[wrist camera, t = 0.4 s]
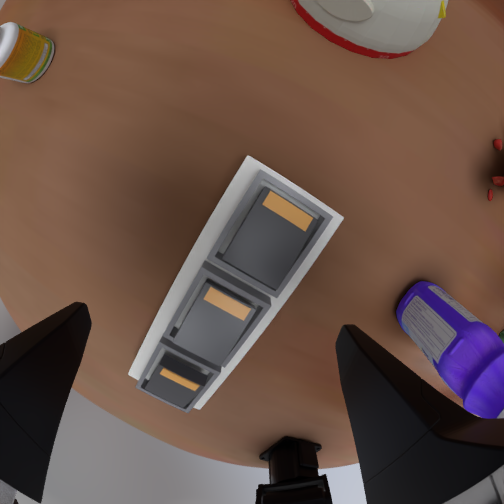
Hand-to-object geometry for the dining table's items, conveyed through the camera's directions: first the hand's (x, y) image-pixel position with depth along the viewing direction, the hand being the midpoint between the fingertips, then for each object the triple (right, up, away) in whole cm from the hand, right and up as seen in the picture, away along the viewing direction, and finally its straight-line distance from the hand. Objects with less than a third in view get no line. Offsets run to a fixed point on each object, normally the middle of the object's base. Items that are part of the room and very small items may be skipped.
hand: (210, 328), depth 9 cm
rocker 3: (+2, +3, +9) cm, 10 cm away
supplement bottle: (-21, +23, +8) cm, 32 cm away
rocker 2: (-1, -3, +11) cm, 11 cm away
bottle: (+19, -3, +16) cm, 25 cm away
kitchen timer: (+11, +26, +7) cm, 29 cm away
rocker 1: (-5, -9, +13) cm, 17 cm away
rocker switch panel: (-1, -1, +15) cm, 16 cm away
